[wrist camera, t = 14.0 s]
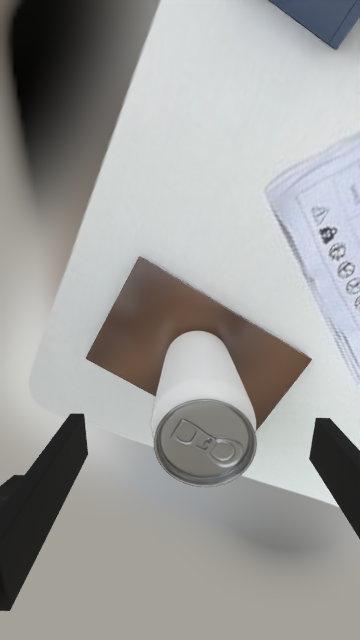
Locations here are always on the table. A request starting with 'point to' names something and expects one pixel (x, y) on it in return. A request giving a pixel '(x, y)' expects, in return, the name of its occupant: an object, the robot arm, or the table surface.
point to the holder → (324, 17)
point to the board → (181, 317)
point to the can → (202, 413)
